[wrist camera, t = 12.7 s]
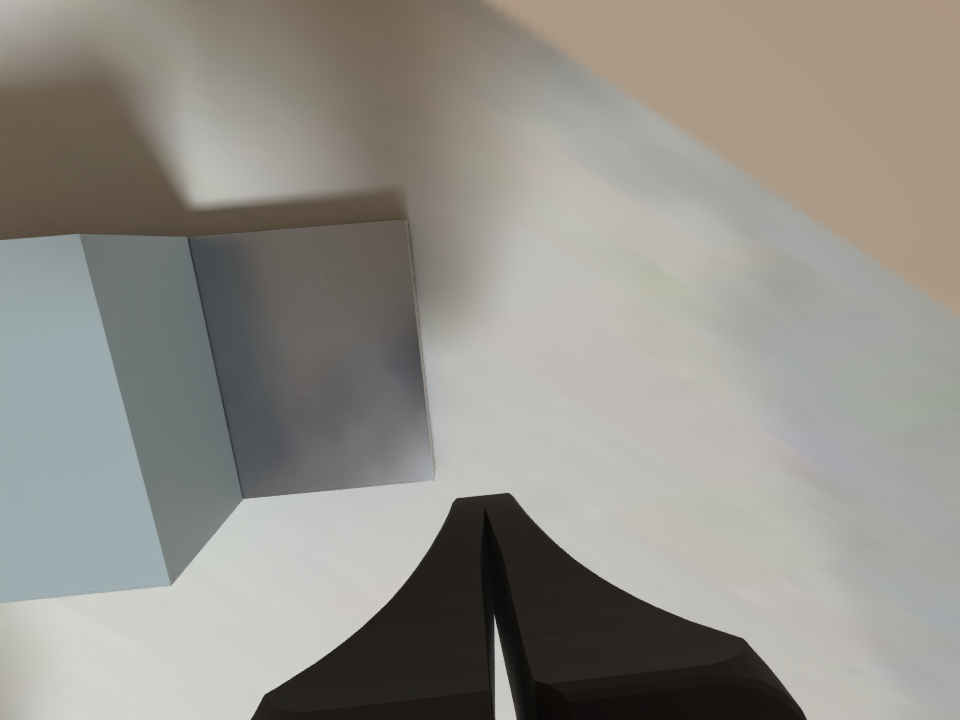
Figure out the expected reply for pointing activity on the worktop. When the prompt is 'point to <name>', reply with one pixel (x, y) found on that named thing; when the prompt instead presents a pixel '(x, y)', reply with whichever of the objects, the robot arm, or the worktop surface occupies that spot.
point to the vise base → (317, 355)
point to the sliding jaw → (106, 416)
